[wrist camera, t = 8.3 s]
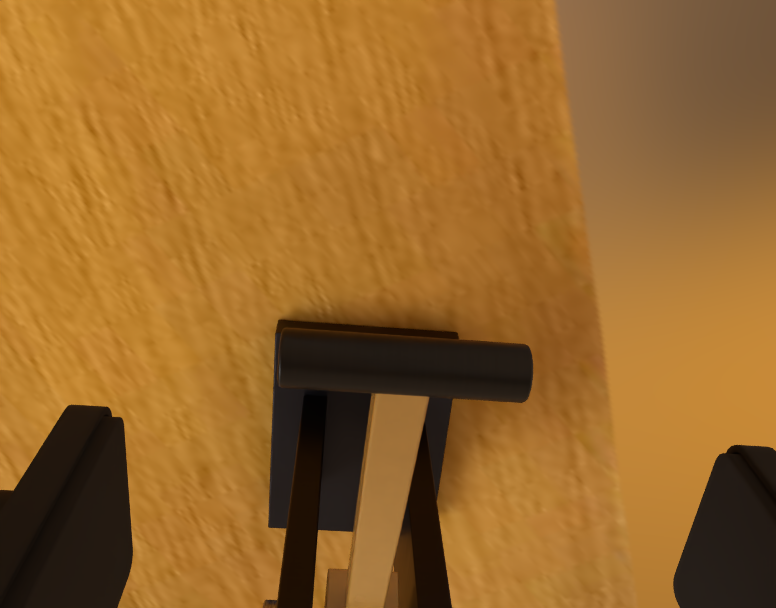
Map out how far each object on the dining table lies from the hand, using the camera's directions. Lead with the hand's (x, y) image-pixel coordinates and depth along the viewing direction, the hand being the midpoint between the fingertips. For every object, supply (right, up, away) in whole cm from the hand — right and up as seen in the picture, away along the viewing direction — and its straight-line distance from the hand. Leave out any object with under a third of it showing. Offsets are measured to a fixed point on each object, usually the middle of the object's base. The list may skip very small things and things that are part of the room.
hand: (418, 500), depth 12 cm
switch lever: (-1, -2, +8) cm, 9 cm away
